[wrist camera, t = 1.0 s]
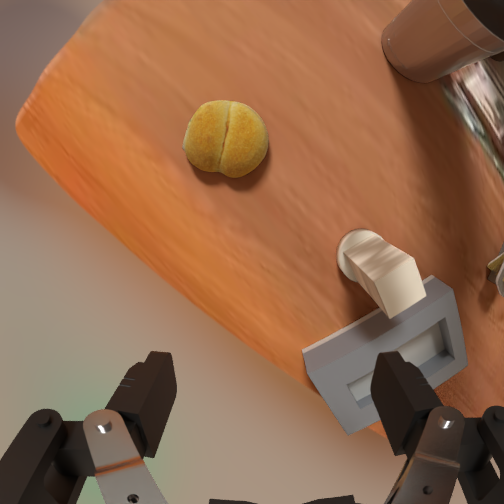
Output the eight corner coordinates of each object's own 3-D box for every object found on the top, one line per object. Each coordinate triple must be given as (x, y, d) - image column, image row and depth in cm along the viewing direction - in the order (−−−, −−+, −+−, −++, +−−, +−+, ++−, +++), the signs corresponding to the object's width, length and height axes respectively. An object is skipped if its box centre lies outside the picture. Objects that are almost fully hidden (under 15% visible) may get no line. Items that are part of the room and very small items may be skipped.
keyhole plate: (431, 274, 36) (452, 288, 30) (450, 347, 39) (468, 365, 33) (301, 349, 38) (307, 374, 33) (340, 411, 41) (347, 435, 36)
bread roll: (258, 183, 34) (258, 184, 30) (181, 165, 33) (171, 164, 29) (276, 113, 32) (279, 106, 28) (199, 96, 31) (192, 87, 27)
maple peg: (370, 219, 34) (419, 241, 23) (389, 261, 35) (437, 298, 24) (327, 244, 35) (359, 278, 23) (348, 285, 36) (383, 333, 25)
